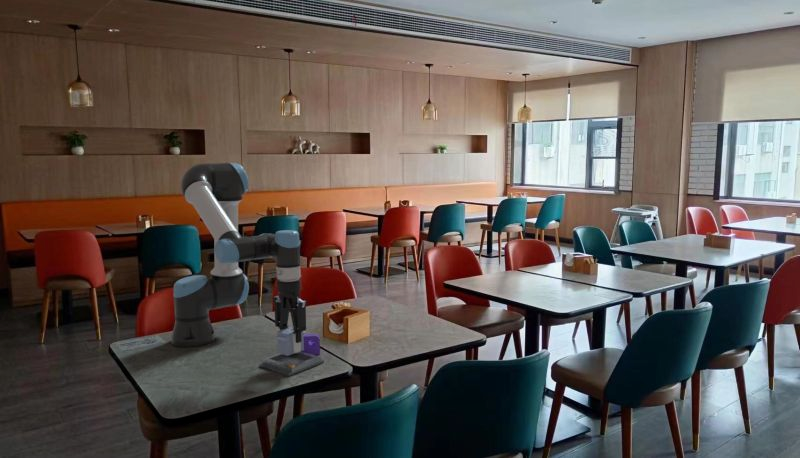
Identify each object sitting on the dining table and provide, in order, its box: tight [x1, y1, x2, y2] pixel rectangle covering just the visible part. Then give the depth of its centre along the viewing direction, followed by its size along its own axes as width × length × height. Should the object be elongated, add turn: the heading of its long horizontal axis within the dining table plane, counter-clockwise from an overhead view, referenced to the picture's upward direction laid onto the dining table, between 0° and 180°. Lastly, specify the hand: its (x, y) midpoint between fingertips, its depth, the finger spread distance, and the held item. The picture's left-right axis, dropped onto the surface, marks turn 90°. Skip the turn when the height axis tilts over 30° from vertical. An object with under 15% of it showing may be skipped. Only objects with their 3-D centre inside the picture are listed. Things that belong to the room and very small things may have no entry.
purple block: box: [301, 333, 321, 356], centre depth 209 cm, size 12×7×7 cm, turn 10°
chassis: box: [258, 351, 325, 377], centre depth 194 cm, size 14×15×3 cm
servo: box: [273, 325, 308, 356], centre depth 193 cm, size 4×10×8 cm, turn 142°
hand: (291, 350), depth 194 cm, fingers closed on servo, 4 cm apart
